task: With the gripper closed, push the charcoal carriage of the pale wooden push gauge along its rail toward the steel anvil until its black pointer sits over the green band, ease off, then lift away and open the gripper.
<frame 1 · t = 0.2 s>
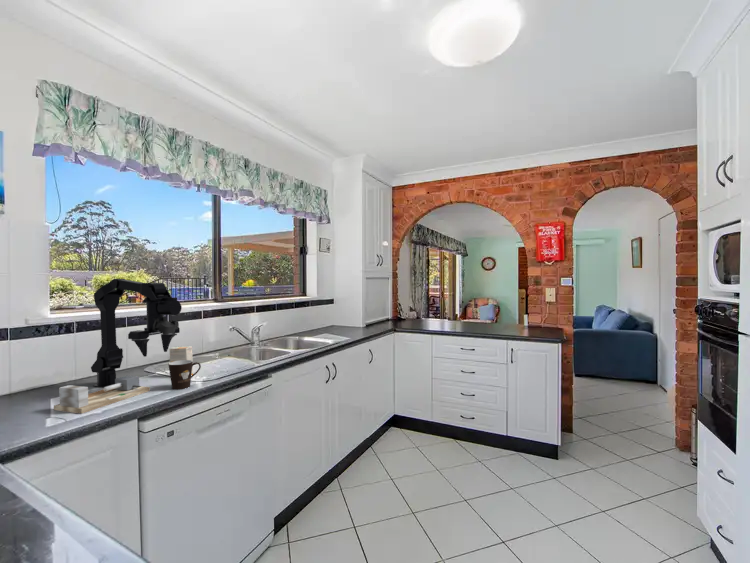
hand: (155, 354, 146), 14 cm above the countertop, tool pointing down, fingers open, 9 cm apart
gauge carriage: (122, 385, 138), point 4 cm above the countertop, slide at 0.0 cm
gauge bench: (105, 399, 134), on the countertop
supplement box: (181, 376, 165), on the countertop
coffee mug: (185, 387, 148), on the countertop
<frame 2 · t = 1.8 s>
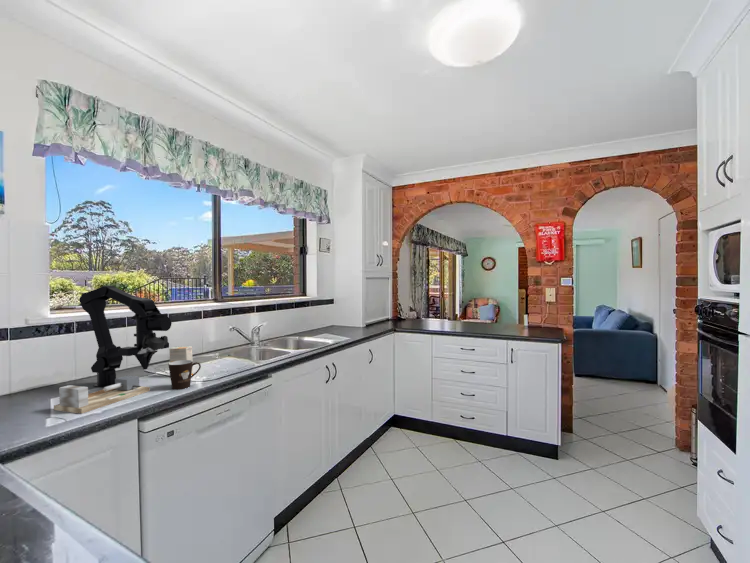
hand: (145, 369, 149), 7 cm above the countertop, tool pointing down, fingers closed
nothing on the countertop moved.
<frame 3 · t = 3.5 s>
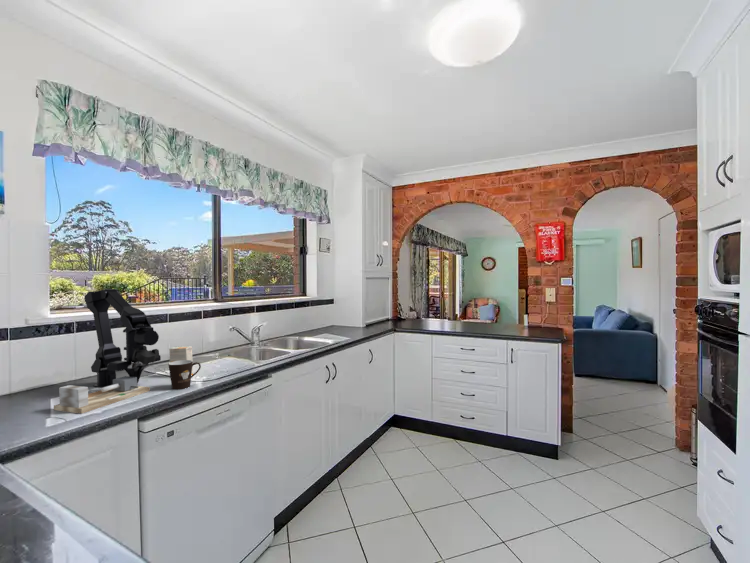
hand: (135, 383, 145), 3 cm above the countertop, tool pointing down, fingers closed
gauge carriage: (120, 386, 138), point 4 cm above the countertop, slide at 0.9 cm, touching gripper
everything else where it was.
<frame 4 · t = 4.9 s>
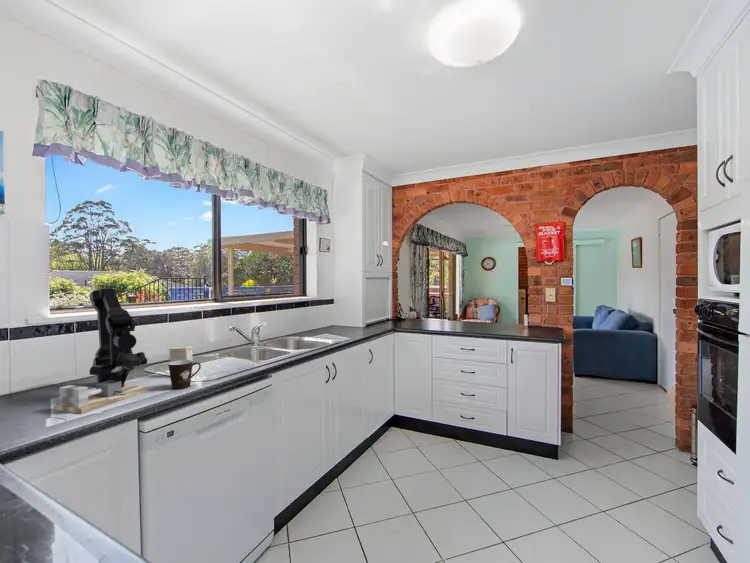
hand: (120, 388, 139), 3 cm above the countertop, tool pointing down, fingers closed
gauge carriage: (103, 390, 132), point 4 cm above the countertop, slide at 7.1 cm, touching gripper
everything else where it was.
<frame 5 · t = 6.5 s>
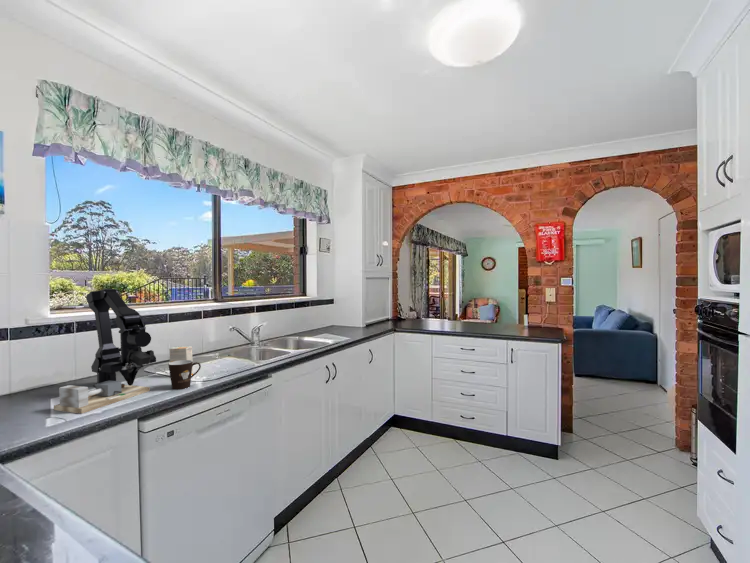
hand: (130, 385, 143), 2 cm above the countertop, tool pointing down, fingers closed
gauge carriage: (103, 391, 132), point 4 cm above the countertop, slide at 7.2 cm
everything else where it was.
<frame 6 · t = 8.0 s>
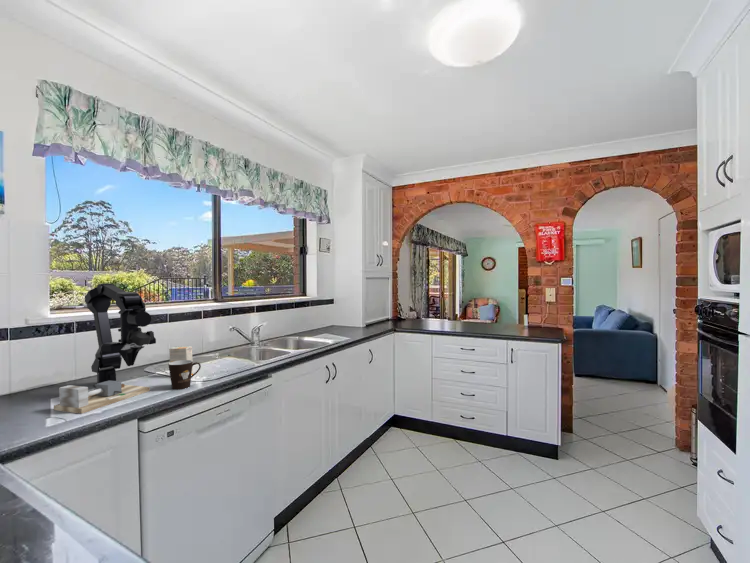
hand: (130, 365, 143), 10 cm above the countertop, tool pointing down, fingers closed
nothing on the countertop moved.
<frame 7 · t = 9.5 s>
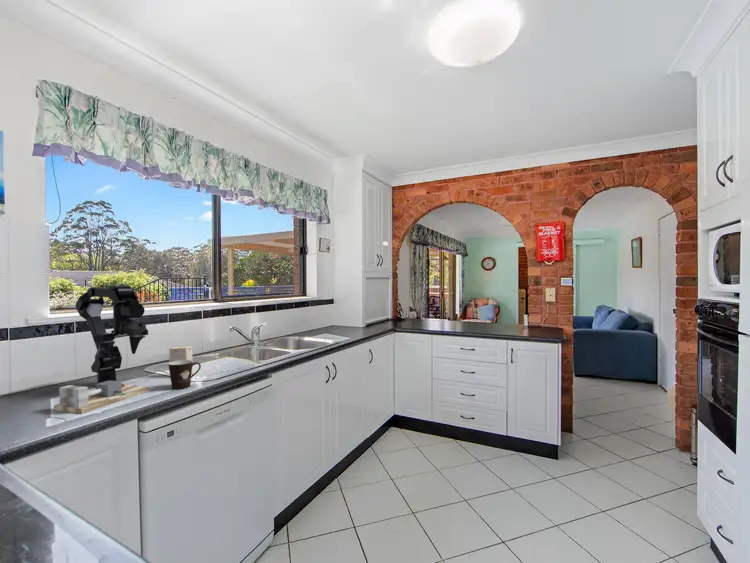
hand: (122, 356, 148), 13 cm above the countertop, tool pointing down, fingers open, 9 cm apart
nothing on the countertop moved.
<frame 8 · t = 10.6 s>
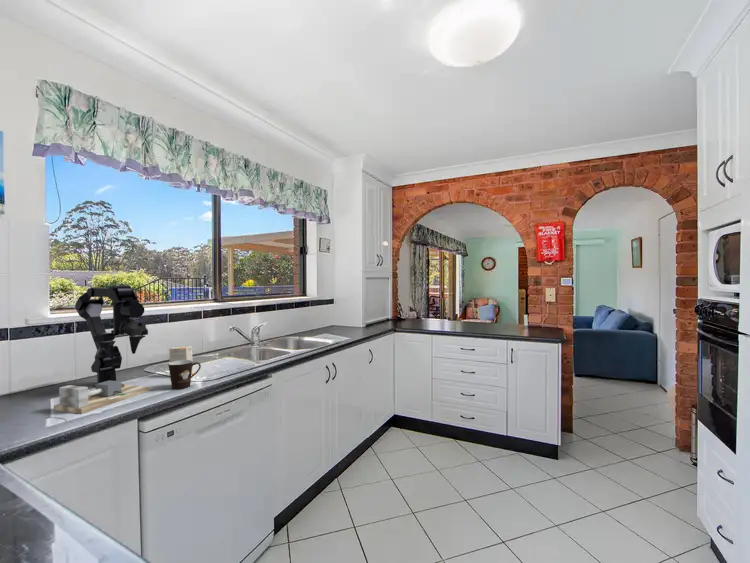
hand: (123, 355, 148), 13 cm above the countertop, tool pointing down, fingers open, 9 cm apart
nothing on the countertop moved.
at the end: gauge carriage slide at 7.2 cm; the gripper is holding nothing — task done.
